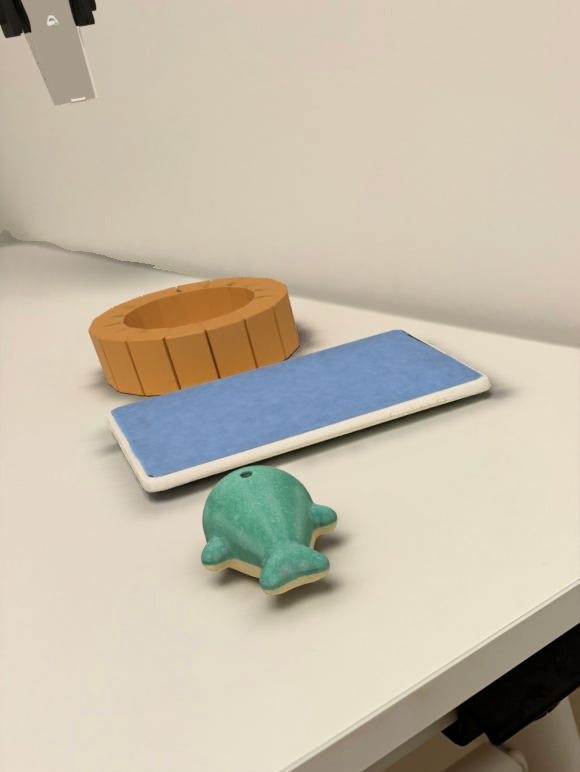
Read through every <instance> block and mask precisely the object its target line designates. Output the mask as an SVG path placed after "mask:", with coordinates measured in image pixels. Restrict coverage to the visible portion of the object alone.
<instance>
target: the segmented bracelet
mask: <svg viewBox="0 0 580 772" xmlns="http://www.w3.org/2000/svg"><path fill="white" fill-rule="evenodd" d="M288 291H289V290H288V287H287V284H286V283H284V282H281V281H279V280H276V279H274V278H268V277H254V276H253V277H251V276H245V277H243V276H239V277H226V278H216V279H211V280H210V279H208V280H202V281H197V282H190V283H186V284H185V283H184V284H180V285H177V286H173V287H168V288H165V289H160V290H157V291H154V292H149V293H147V294H143V295H142V296H140V295H139V296H136V297H135V298H132V299H130V300H127V301H124V302H122V303H119V304H117V305H114V306H113V307H111V308H109V309H107V310H106V311H104V312H103V313H101V314H100V315H98V316H96V317H95V318H94V319H93V320H92V322H91V323H90V326H89V327H88V330H87V332H88V334H89V338H90V340H91V342H92V345H93V347H94V350H95V353H96V356H97V358H98V361H99V364H100V366H101V369H102V371H103V374H104V377H105V380H106V382H107V384H109V385H110V386H111V387H112V388H113V389H114V390H116V391H117V392H120V393H125V394H129V395H135V396H149V397H150V396H151V397H152V396H160V395H164V394H167V393H171V392H174V391H178V390H181V389H185V388H189V387H192V386H196V385H200V384H203V383H207V382H211V381H215V380H218V379H222V378H225V377H229V376H232V375H236V374H240V373H243V372H247V371H250V370H254V369H257V368H261V367H264V366H268V365H272V364H275V363H279V362H282V361H286V360H288V358H289V357H290V356H291V355H292V354H293V353H294V352H295V351H296V350H297V349H298V348H299V347H300V346H301V345H300V337H299V332H298V329H297V325H296V321H295V320H296V319H295V317H294V312H293V308H292V304H291V299H290V296H289V292H288Z"/></svg>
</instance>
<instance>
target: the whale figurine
mask: <svg viewBox="0 0 580 772" xmlns="http://www.w3.org/2000/svg"><path fill="white" fill-rule="evenodd" d="M201 522H202V530H203V533H204V537H205V543H206V544H205V546H204V547H203V549H202V552H201V553H200V554H201V555H200V560H201V565H202V566H203V567H204V568H205V569H206V570H208V571H210V572H214V573H217V572H221V571H224V570H225V569H228V568H230V569H232V570H236V571H238V572H240V573H242V574H245V575H247V576H251V577H254V578H257V579H258V583H259V585H260V588H261V589H262V591H263V592H264V593H265V594H267V595H271V596H272V595H273V596H275V595H276V596H277V595H282V594H284V593H286V592H289V591H290V590H293V589H294V588H297V587H300V586H303V585H305V584H306V585H307V584H309V583H314V582H317V581H319V580H321V579H323V578H324V577H326V576H328V574H329V573H330V572H331V571H330V570H331V563H330V560H329V559H328V557H327V556H326V555H324V554H322V553H321V552H319V551H318V550H316V549H314V547H315V543H316V540H317V538H318V537H319V536H321V535H326V534H329V533H331V532H333V531H334V530H335V529H336V527H337V525H338V515H337V512H336V511H335V510H334V509H333V508H331V507H329V506H328V505H322V504H317V503H315V502H314V501H313V498H312V496H311V494H310V493H309V490H308V489H307V487H306V486H305V485H304V484H303V483H302V481H300V480H299V479H298V478H297V477H295V476H294V475H292V474H291V473H289V472H287V471H285V470H284V469H280V468H277V467H274V466H270V465H250V466H244V467H241V468H239V469H236V470H233V471H232V472H230V473H228V474H227V475H225V476H223V478H221V479H220V480H219V481H218V482H217V483H216V484H215V485H214V486H213V488H212V489H211V491H210V492H209V493H208V496H207V498H206V500H205V503H204V506H203V509H202V517H201Z"/></svg>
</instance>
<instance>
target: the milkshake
mask: <svg viewBox="0 0 580 772" xmlns="http://www.w3.org/2000/svg"><path fill="white" fill-rule="evenodd" d="M12 1H13V4H14V7H15V10H16V13H17V16H18V18H19V21H20V24H21V27H22V30H23V33H22V34H23V36H24V37H25V40H26V42H27V44H28V47H29V50H30V51H31V54H32V56H33V59H34V61H35V63H36V66H37V68H38V70H39V73H40V75H41V77H42V79H43V82H44V84H45V87H46V89H47V91H48V94H49V97H50V98H51V101H52V103H53V105H54V106H55V107H58V106H59V107H60V106H67V105H74V104H79V103H85V102H88V101H93V100H96V99H98V98H99V96H98V92H97V87H96V84H95V81H94V77H93V73H92V70H91V65H90V61H89V57H88V54H87V53H88V52H87V50H86V47H85V42H84V38H83V36H82V35H83V34H82V32H81V27H79V24H78V20H77V16H76V12H75V7H74V3H73V0H12Z"/></svg>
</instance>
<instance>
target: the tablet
mask: <svg viewBox="0 0 580 772" xmlns="http://www.w3.org/2000/svg"><path fill="white" fill-rule="evenodd" d="M491 387H492V385H491V382H490V378H489V376H488V375H487V374H485V373H483V372H482V371H479V370H477V369H476V368H474V367H472V366H470V365H468V364H467V363H465V362H463V361H461V360H459V359H458V358H456V357H455V356H453V355H451V354H449V353H447V352H446V351H444V350H442V349H440V348H438V347H437V346H435V345H433V344H431V343H429V342H427V341H425V340H424V339H422V338H421V337H419V336H417V335H415V334H412V333H411V332H410V331H408V330H406V329H405V330H404V329H392V330H388V331H385V332H381V333H378V334H373V335H370V336H366V337H363V338H360V339H356V340H353V341H350V342H346V343H345V342H344V343H343V344H339V345H336V346H332V347H329V348H325V349H322V350H319V351H318V350H317V351H314V352H311V353H307V354H304V355H301V356H296V357H292V358H290V359H285V360H284V361H282V362H279V363H275V364H272V365H268V366H264V367H261V368H257V369H254V370H250V371H247V372H243V373H240V374H236V375H232V376H229V377H225V378H222V379H218V380H215V381H211V382H207V383H203V384H200V385H196V386H192V387H189V388H185V389H181V390H178V391H174V392H171V393H167V394H164V395H155V396H154V397H149V398H146V399H141V400H138V401H135V402H131V403H127V404H124V405H120V406H118V407H115V408H113V409H111V410H110V411H109V412H107V414H106V422H107V424H108V427H109V429H110V431H111V433H112V434H113V436H114V438H115V440H116V442H117V443H118V446H119V447H120V449H121V451H122V453H123V455H124V458H125V459H126V461H127V462H128V464H129V466H130V467H131V469H132V471H133V473H134V474H135V476H136V478H137V479H138V482H139V483H140V485H141V488H142V490H144V491H145V492H147V493H156V492H161V491H166V490H169V489H172V488H175V487H178V486H182V485H185V484H188V483H190V482H194V481H198V480H200V479H204V478H207V477H210V476H213V475H214V476H215V475H217V474H220V473H223V472H226V471H229V470H232V469H236V468H239V467H243V466H246V465H249V464H252V463H256V462H259V461H263V460H266V459H270V458H272V457H276V456H279V455H282V454H285V453H289V452H292V451H295V450H298V449H302V448H304V447H308V446H311V445H315V444H318V443H322V442H325V441H327V440H328V441H329V440H331V439H334V438H337V437H341V436H344V435H347V434H350V433H353V432H356V431H361V430H363V429H366V428H369V427H372V426H373V427H374V426H376V425H379V424H383V423H386V422H389V421H392V420H396V419H398V418H402V417H405V416H407V415H411V414H415V413H417V412H422V411H425V410H428V409H431V408H435V407H438V406H441V405H445V404H447V403H451V402H454V401H458V400H460V399H464V398H468V397H471V396H475V395H478V394H481V393H484V392H487V391H488V390H490V389H491Z"/></svg>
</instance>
